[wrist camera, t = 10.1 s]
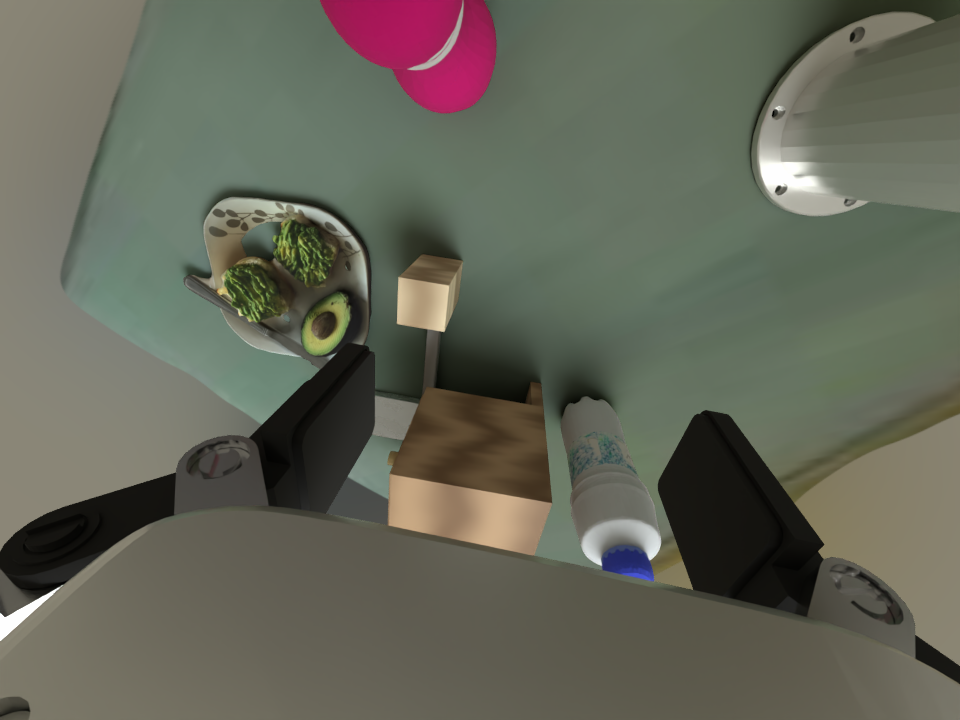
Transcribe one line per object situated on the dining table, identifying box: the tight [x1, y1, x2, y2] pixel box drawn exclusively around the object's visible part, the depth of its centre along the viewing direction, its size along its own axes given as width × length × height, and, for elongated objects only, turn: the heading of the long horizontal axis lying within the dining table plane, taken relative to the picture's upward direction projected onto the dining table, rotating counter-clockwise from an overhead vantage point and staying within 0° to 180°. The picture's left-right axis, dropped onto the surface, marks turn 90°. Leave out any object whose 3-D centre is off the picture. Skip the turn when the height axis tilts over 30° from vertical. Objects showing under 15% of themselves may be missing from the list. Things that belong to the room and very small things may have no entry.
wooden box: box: [388, 382, 552, 556], centre depth 38 cm, size 13×14×16 cm
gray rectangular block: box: [372, 391, 420, 440], centre depth 45 cm, size 6×6×2 cm
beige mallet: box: [397, 254, 463, 395], centre depth 38 cm, size 4×23×8 cm, turn 172°
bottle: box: [561, 397, 661, 581], centre depth 34 cm, size 7×7×20 cm
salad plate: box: [183, 197, 371, 369], centre depth 37 cm, size 19×18×5 cm
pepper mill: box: [320, 0, 496, 113], centre depth 20 cm, size 7×7×20 cm
